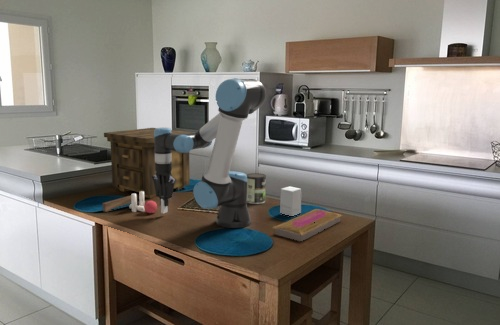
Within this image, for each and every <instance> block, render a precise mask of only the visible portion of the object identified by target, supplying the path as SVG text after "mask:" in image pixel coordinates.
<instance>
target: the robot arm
mask: <svg viewBox="0 0 500 325" xmlns="http://www.w3.org/2000/svg"><path fill="white" fill-rule="evenodd" d="M216 89H217V90H216V92H215V101H216V105H217V106H218V109H217V111H218V113H217V114H216V115H215V116H214V117H213V118H211V119H210V120H209V121H208V122H206V123H205V124H204V125H203V126H202V127H200V128H199V129H197V131H195V132H193V131H192V132H193V133H186V134H172V132H171V130H172V128H170V127H155V128H156V129H155V130H154V147H155V162H156V163H155V171H156V175H154V176H152V179H153V182H154V187H155V192H156V197H157V198H159V205H160V213H161V214H166V213H168V206H169V199H172V198H173V193H174V189H173V188H174V183H175V181H176V179H175V178H173V177H172V174H171V170H172V163H171V161H172V151H176V152H180V153H183V152H184V153H187V152H189V153H190V152H191V151H192V150H199V149H205V148H209V147H210V146H211V145H212V143H213V141H214V143H213V147H212V151H211V155H210V160H209V163H208V164H209V165H208V166H207V167H208V168H207V170H205V171H204V172H203V174H202V177H201V180H200V181H198V182H197V183H195V185H194V186H193V189H192V190H193V191H192V193H193V197H194V199H195V201H196V204H198V206H199V207H201V208H202V209H204V210H205V209H206V210H211V209H215V208H217V207H219V209H218V211H217V215H216V222H215V223H216V225H217V226H220V227H222V228H226V229H241V228H245V227H248V226H250V224H251V216H250V212H249V209H248V203H247V183H248V182H247V173H245V172H241V171H233V170H231V166H232V162H233V159H234V154H235V151H236V147H237V144H238V139H239V136H240V132H241V128H242V124H243V121H245V120H246V119H248V117H249V115H252V114H253V113H254V112H256V111H257V110H258V109H260V108H261V107H262V106H263V105H264V103H265V102H266V99H267V89H266V86H264V84H263V83H262V82H261V81H259V80H258V79H254V78H251V79H250V78H235V77H234V78H229V79H226V80H224V81H222V82H221V83H220V84H219V85H218V87H217V88H216Z"/></svg>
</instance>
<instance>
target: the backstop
mask: <svg viewBox="0 0 500 325" xmlns="http://www.w3.org/2000/svg"><path fill="white" fill-rule="evenodd" d="M136 198H137V203H138V202H139V201H138V199H139V198H138V194H136ZM129 203H131V195H127V196H123V197H120V198H116V199H113V200H109V201H105V202H102V211H103V212H105V213H107V212H110V211H112V210H111V209H113V208H116V207H119V206H123V205H126V204H129Z"/></svg>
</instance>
